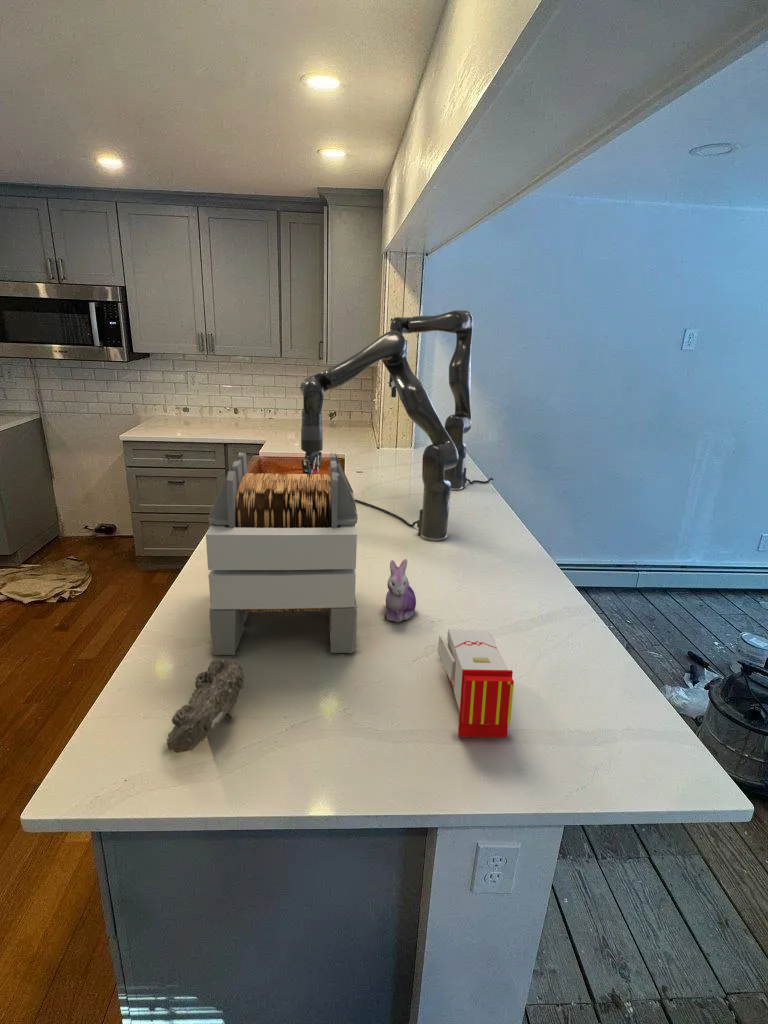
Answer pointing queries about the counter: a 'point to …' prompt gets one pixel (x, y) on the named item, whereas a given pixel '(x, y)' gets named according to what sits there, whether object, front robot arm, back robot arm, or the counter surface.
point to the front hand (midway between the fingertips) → (311, 483)
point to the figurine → (399, 594)
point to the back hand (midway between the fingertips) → (397, 398)
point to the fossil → (206, 705)
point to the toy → (478, 682)
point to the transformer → (282, 551)
